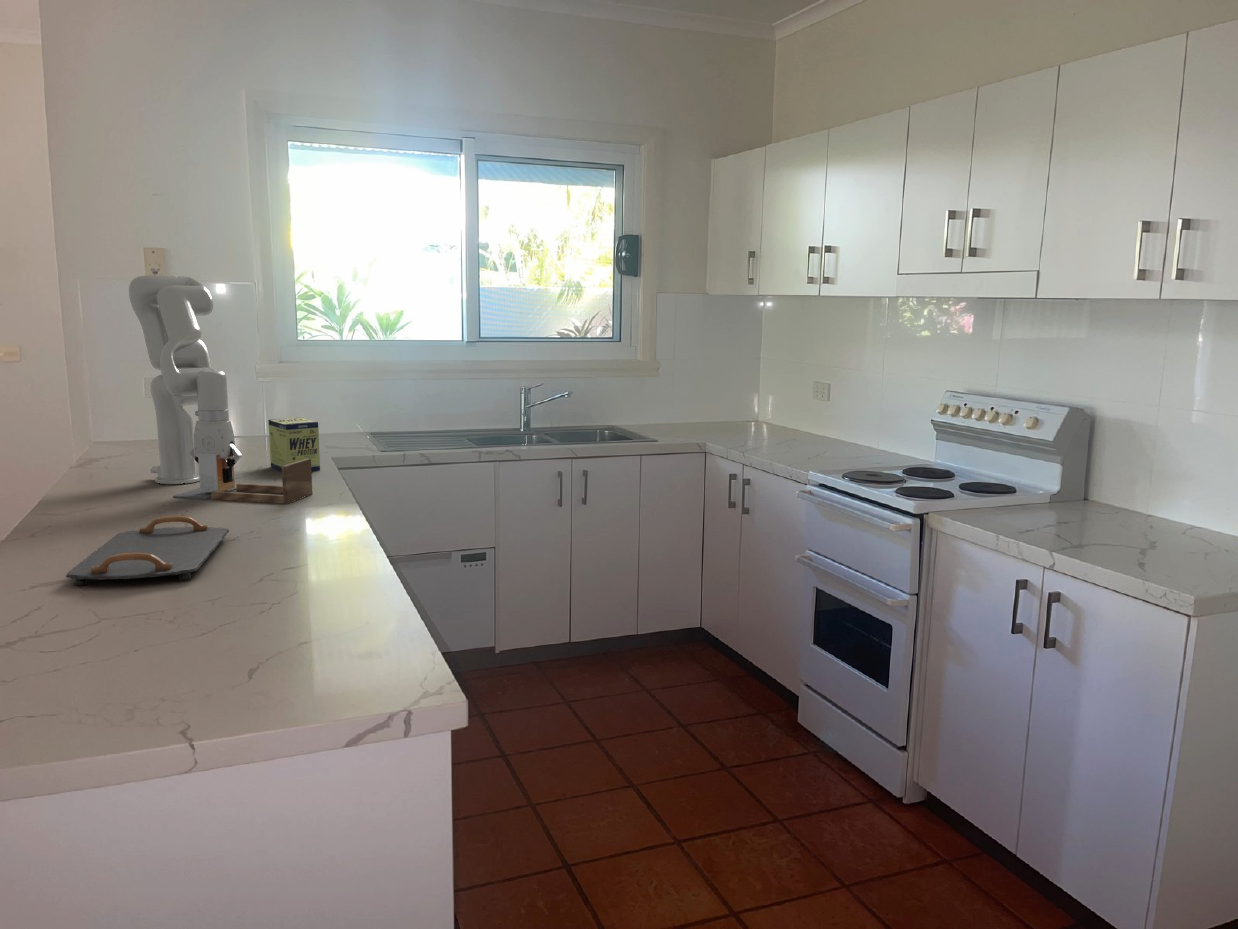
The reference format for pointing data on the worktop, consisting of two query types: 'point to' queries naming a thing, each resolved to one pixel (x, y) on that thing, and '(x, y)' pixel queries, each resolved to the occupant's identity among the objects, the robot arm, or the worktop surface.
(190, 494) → the mat
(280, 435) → the protein box
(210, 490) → the small box
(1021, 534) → the worktop surface
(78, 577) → the serving board
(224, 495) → the lane rack
